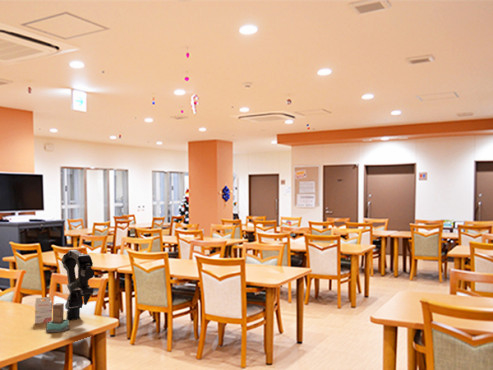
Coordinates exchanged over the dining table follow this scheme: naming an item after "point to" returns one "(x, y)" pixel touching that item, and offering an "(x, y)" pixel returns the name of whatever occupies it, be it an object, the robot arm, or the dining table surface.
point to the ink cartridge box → (43, 310)
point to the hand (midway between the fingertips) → (82, 303)
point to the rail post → (58, 312)
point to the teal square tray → (57, 327)
